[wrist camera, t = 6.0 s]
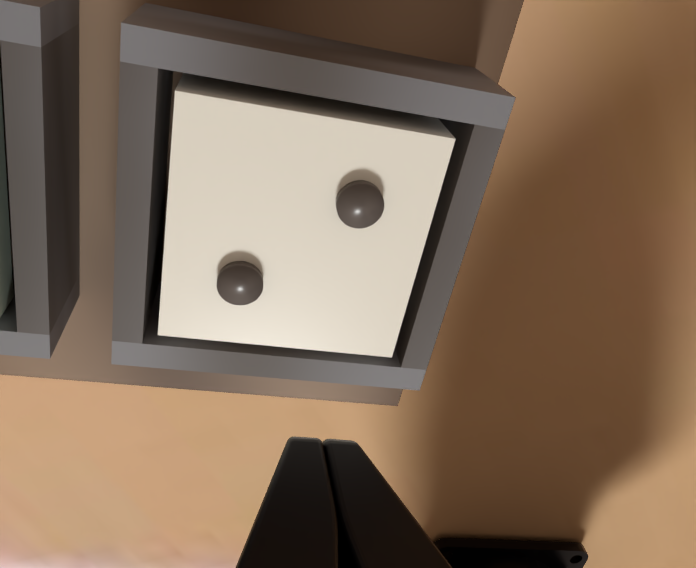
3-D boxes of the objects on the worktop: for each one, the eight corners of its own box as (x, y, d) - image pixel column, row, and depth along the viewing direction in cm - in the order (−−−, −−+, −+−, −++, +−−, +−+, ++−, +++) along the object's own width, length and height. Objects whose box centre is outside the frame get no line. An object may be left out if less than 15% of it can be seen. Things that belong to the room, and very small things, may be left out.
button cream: (430, 109, 13) (458, 142, 11) (377, 309, 16) (393, 362, 14) (186, 65, 12) (173, 93, 10) (169, 285, 15) (156, 340, 13)
